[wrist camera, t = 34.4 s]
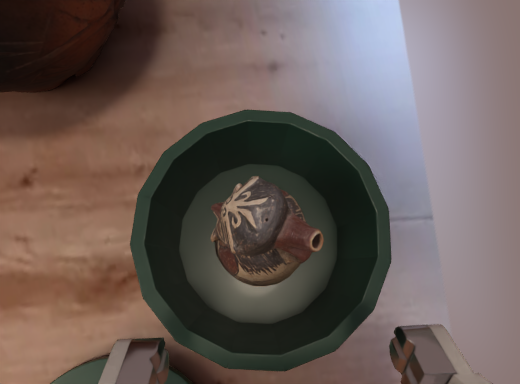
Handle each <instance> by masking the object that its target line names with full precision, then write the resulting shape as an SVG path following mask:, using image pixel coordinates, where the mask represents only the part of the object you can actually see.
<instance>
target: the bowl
mask: <svg viewBox="0 0 520 384" xmlns="http://www.w3.org/2000/svg"><path fill="white" fill-rule="evenodd" d="M124 4H125V0H0V92H9V91H16V92H39V91H47V90H51V89H53V88H56V87H58V86H59V85H60V84H62V83H63V82H64V81H65V80H67V79H68V77H70V76H80V75H81V74H83V73H85V72H87V71H89V69H90V68H91V67H92V65H93V64H94V62H95V61H96V59H97V57H98V56H99V54H100V52H101V50H102V48H103V46H104V44H105V42H106V40H107V38H108V36H109V34H110V33H111V31H112V29H113V28H114V26H115V24H116V23H117V20H118V14H119V11H120V9H121V8H123V7H124Z"/></svg>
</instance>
